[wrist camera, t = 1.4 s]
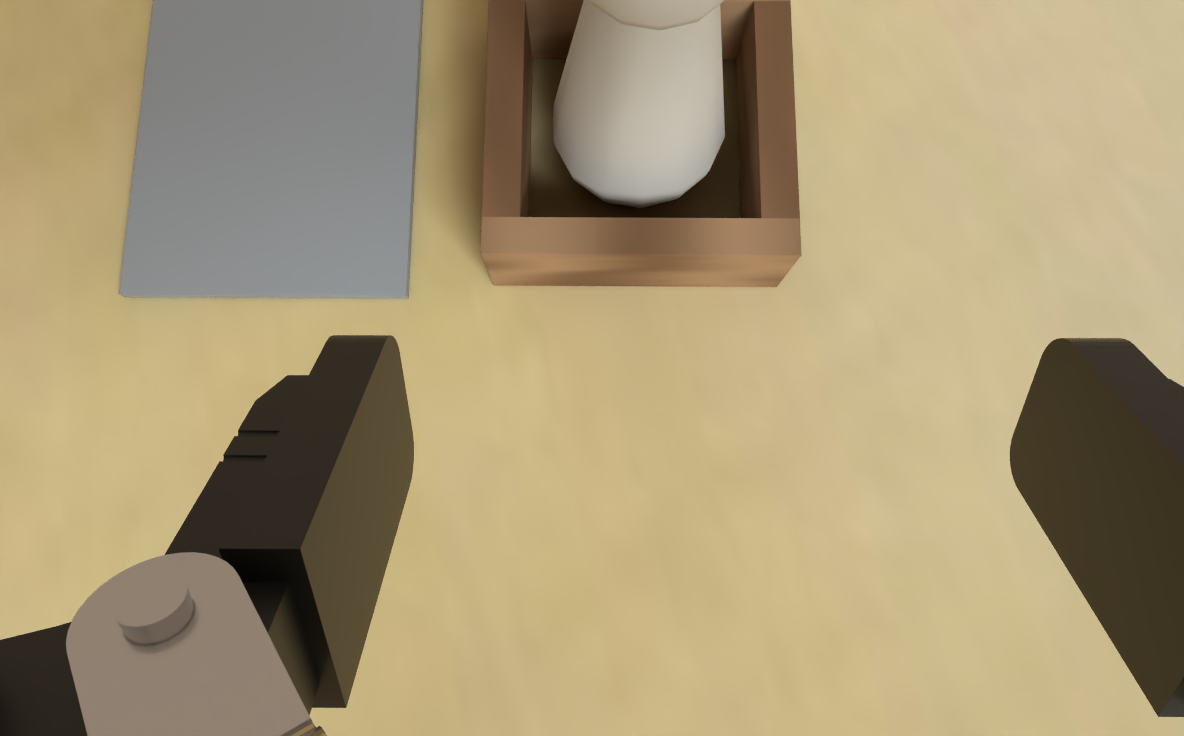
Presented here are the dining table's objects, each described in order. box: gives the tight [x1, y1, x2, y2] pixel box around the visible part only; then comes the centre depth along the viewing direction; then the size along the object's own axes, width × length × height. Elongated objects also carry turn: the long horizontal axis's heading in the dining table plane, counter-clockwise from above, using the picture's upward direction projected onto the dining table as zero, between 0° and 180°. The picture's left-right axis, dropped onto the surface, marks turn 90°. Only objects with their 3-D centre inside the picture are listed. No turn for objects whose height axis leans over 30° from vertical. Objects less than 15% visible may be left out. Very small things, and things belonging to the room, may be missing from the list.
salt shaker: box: [553, 0, 725, 208], centre depth 24 cm, size 6×6×13 cm
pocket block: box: [480, 0, 801, 287], centre depth 28 cm, size 10×10×4 cm
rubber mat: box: [119, 0, 423, 299], centre depth 30 cm, size 10×13×1 cm
